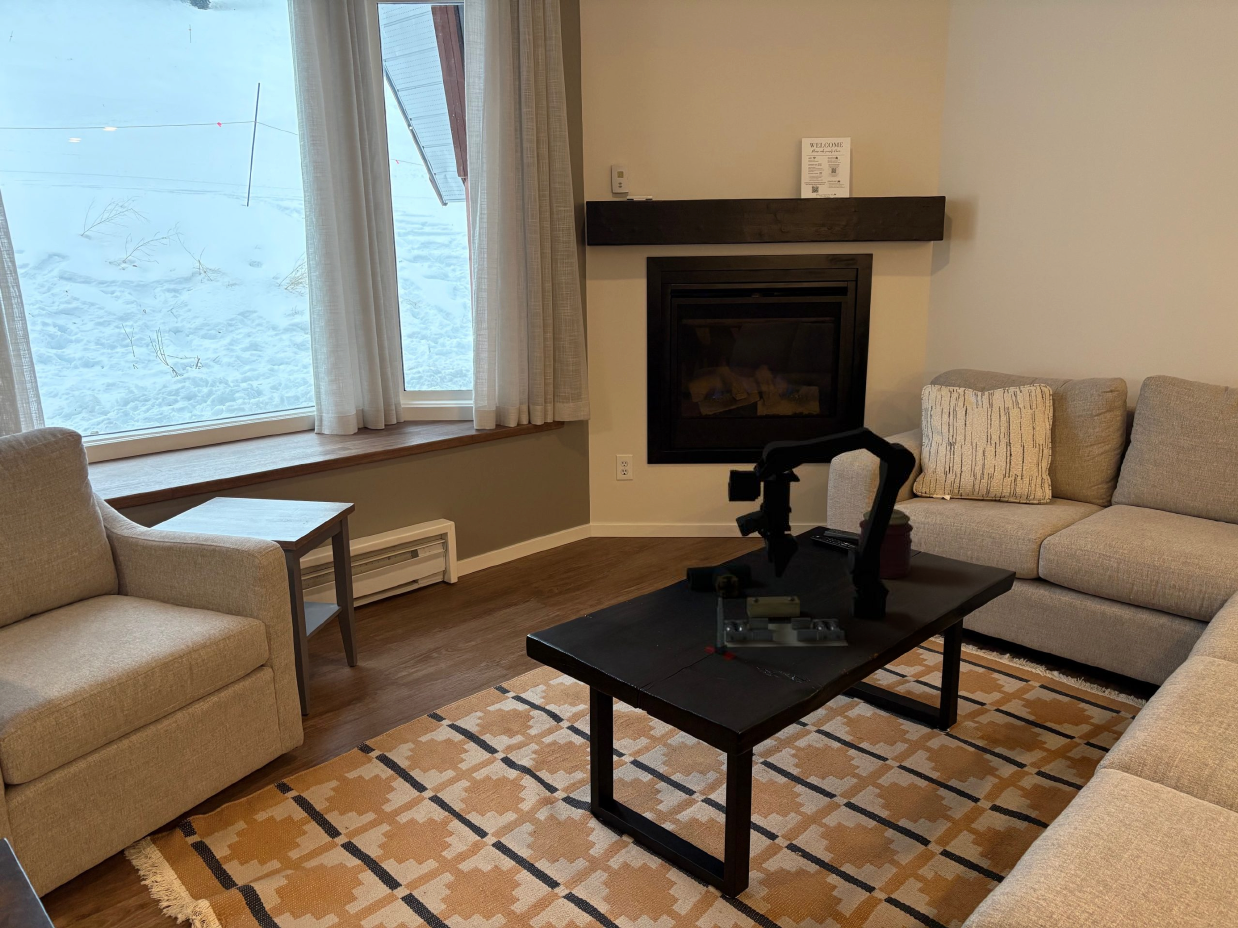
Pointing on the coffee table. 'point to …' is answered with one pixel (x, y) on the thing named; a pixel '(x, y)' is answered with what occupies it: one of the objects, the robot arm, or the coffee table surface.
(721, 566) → the pipe connector
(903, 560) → the canister
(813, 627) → the chain end
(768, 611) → the tapered knobbed panel
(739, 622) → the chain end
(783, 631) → the board
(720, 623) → the gray post stand
